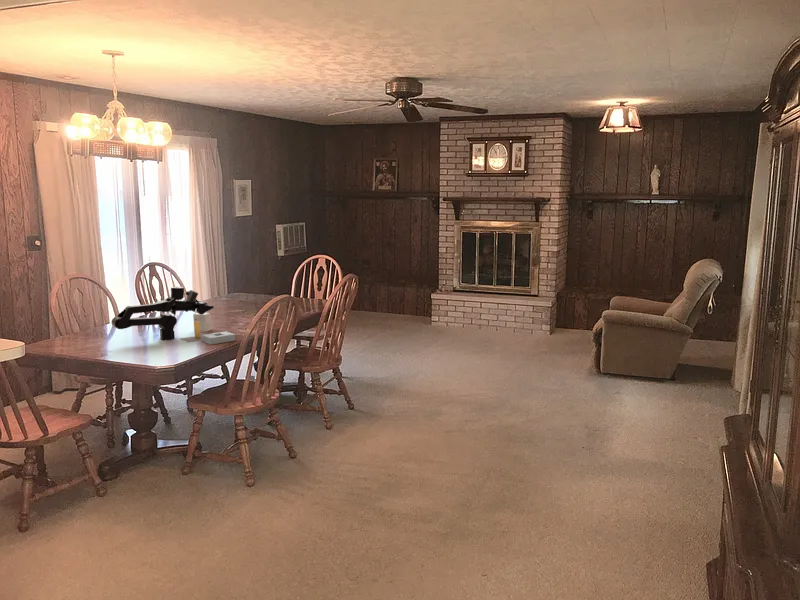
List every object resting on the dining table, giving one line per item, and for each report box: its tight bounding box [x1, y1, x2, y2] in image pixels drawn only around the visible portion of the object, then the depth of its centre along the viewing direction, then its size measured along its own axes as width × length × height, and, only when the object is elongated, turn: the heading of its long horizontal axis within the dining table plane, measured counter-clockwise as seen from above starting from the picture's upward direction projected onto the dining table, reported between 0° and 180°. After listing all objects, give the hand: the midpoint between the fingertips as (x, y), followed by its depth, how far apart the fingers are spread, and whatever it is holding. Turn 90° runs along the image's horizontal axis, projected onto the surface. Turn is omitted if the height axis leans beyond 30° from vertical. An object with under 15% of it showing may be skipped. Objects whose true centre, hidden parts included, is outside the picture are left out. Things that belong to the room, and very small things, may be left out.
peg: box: [193, 321, 201, 339], centre depth 360 cm, size 3×3×9 cm
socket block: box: [201, 330, 236, 345], centre depth 355 cm, size 14×10×4 cm
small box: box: [192, 312, 212, 333], centre depth 381 cm, size 8×6×10 cm
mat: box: [179, 334, 203, 343], centre depth 360 cm, size 14×12×1 cm
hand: (210, 305), depth 373 cm, fingers open, 9 cm apart
